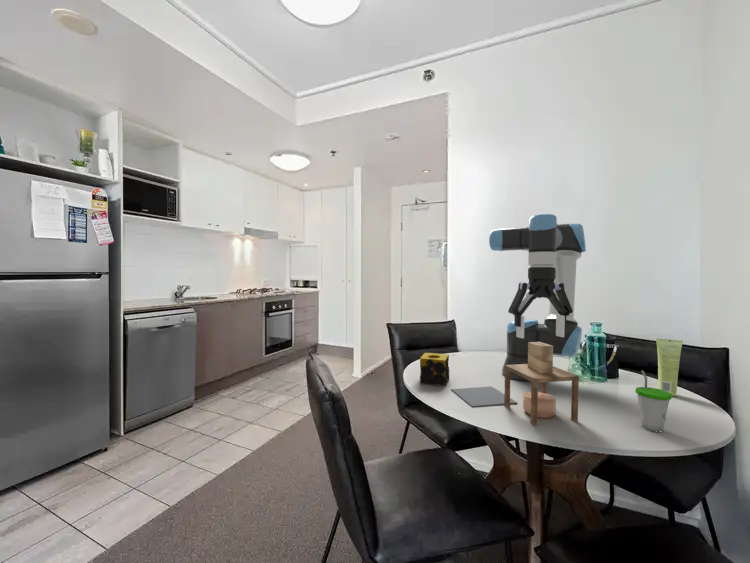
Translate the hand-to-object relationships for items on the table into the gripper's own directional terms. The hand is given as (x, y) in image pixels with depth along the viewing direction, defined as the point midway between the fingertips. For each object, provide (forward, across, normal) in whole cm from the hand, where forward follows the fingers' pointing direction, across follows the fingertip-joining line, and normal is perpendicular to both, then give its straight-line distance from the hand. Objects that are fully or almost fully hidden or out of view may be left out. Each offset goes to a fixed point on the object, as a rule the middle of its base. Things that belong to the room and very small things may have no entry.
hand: (540, 337), depth 104 cm
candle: (+24, +20, -35) cm, 47 cm away
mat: (+23, +10, -16) cm, 30 cm away
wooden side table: (+23, 0, 0) cm, 23 cm away
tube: (+23, -56, -6) cm, 61 cm away
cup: (+24, -24, +15) cm, 37 cm away
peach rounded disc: (+23, 0, 0) cm, 23 cm away
